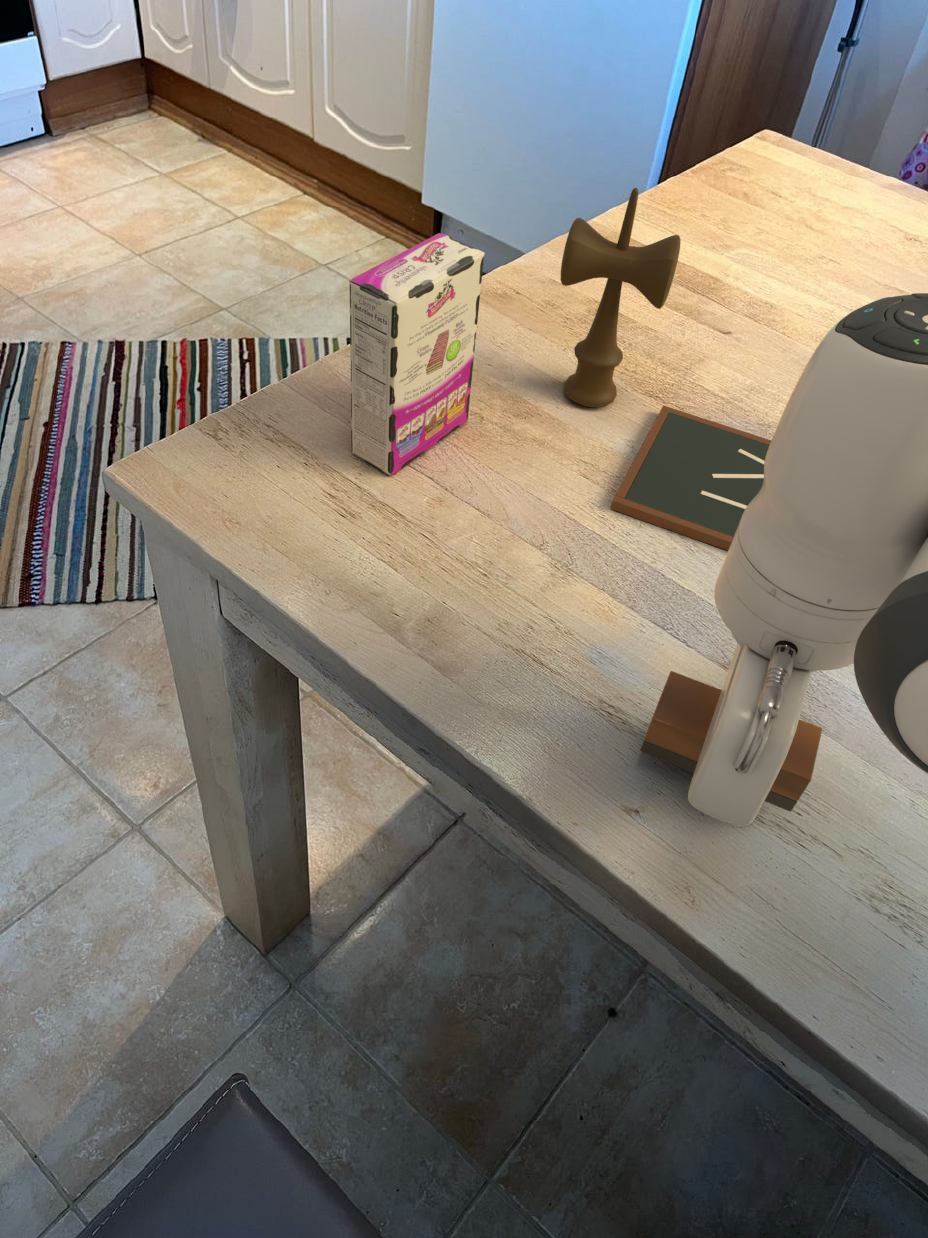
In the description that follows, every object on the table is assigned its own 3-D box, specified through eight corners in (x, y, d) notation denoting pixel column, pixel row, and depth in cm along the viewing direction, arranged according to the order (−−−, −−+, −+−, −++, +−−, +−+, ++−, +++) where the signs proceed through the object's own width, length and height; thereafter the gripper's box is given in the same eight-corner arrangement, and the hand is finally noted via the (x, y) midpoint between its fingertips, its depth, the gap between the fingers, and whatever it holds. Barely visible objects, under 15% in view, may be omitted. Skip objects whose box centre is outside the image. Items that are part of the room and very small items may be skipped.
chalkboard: (869, 482, 87) (874, 472, 86) (844, 592, 76) (849, 583, 75) (660, 413, 91) (663, 404, 90) (610, 509, 80) (612, 499, 80)
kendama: (634, 424, 89) (691, 214, 74) (534, 401, 90) (571, 190, 75) (641, 390, 93) (697, 185, 78) (546, 369, 94) (584, 162, 79)
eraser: (658, 703, 64) (670, 670, 62) (803, 760, 62) (823, 727, 60) (639, 751, 62) (652, 718, 59) (791, 812, 59) (811, 780, 57)
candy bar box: (426, 400, 88) (439, 229, 76) (469, 423, 87) (489, 251, 75) (345, 453, 82) (346, 275, 70) (389, 479, 80) (398, 301, 68)
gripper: (832, 755, 43) (742, 896, 53) (886, 501, 56) (806, 652, 66) (699, 703, 45) (636, 850, 55) (781, 467, 58) (718, 621, 68)
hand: (729, 740), depth 61 cm, fingers closed on eraser, 4 cm apart
